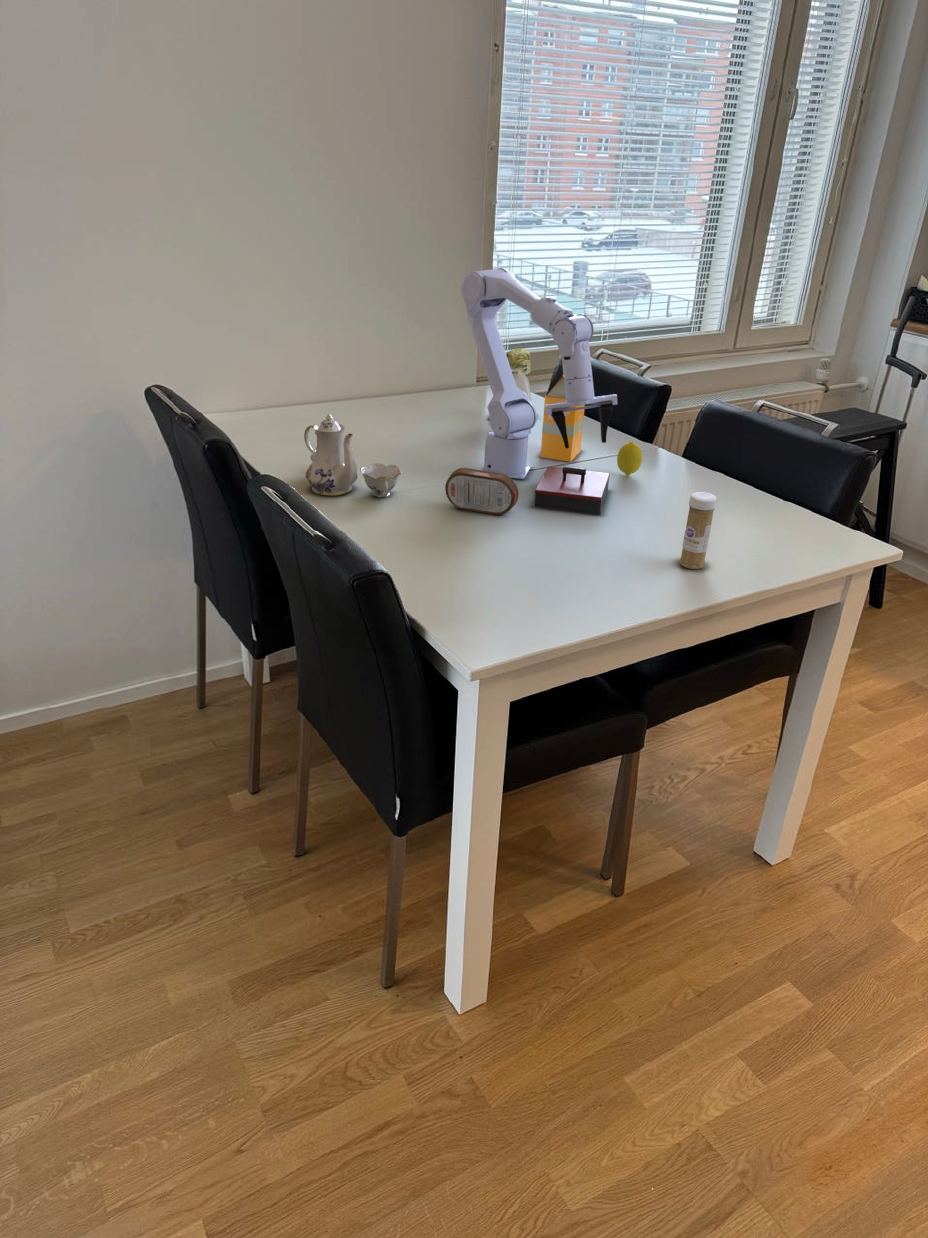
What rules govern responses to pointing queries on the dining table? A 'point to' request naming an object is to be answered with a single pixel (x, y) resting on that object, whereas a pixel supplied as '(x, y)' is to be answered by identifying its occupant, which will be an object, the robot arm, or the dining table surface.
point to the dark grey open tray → (570, 503)
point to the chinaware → (342, 464)
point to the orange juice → (550, 431)
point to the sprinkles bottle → (697, 530)
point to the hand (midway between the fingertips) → (585, 444)
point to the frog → (520, 369)
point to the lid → (573, 483)
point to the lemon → (629, 458)
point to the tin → (481, 491)
